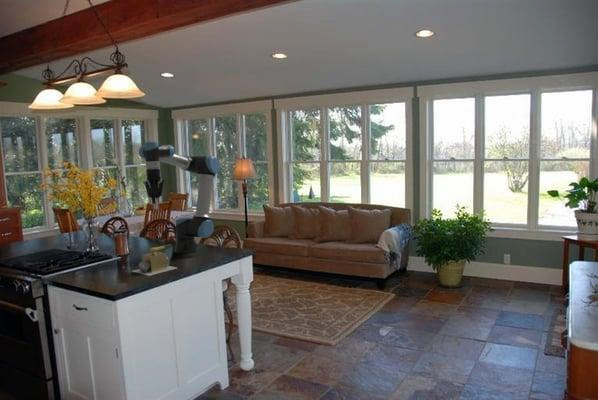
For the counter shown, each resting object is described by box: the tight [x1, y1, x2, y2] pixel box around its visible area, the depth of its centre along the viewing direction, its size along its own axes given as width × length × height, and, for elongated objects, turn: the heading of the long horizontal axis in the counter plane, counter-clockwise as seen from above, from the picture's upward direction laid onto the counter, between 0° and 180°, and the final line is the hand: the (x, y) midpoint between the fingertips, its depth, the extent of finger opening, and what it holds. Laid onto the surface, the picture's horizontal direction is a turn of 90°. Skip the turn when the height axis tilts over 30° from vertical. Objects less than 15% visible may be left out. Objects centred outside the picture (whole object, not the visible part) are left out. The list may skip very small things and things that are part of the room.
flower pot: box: [156, 246, 174, 260], centre depth 292 cm, size 9×9×9 cm
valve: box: [137, 251, 171, 273], centre depth 272 cm, size 9×18×11 cm, turn 140°
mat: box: [131, 265, 178, 277], centre depth 273 cm, size 18×19×1 cm
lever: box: [148, 243, 174, 253], centre depth 275 cm, size 14×4×1 cm, turn 141°
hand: (156, 209), depth 278 cm, fingers closed
